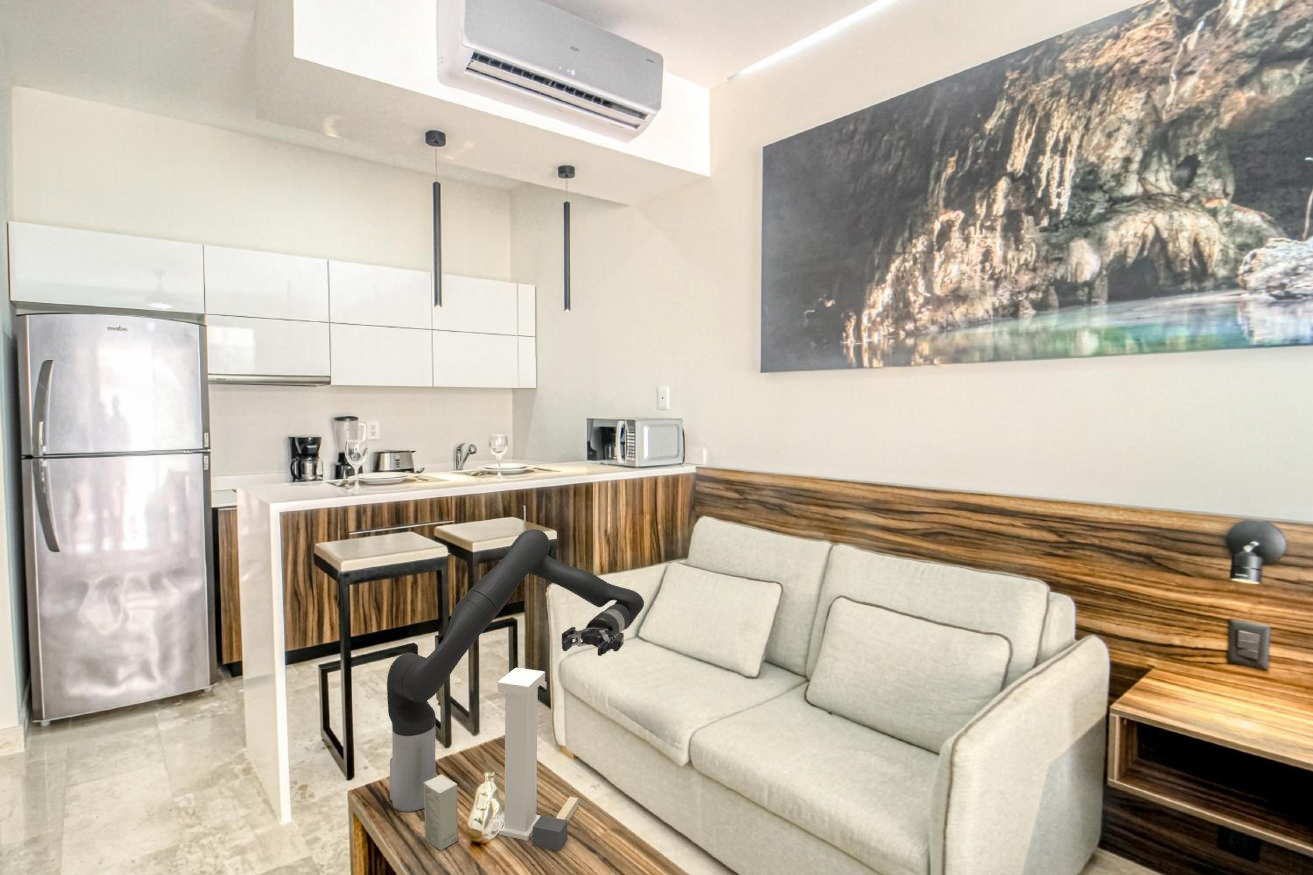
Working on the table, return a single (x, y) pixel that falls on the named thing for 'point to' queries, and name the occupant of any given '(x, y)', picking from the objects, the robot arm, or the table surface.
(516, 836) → the pale stand
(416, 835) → the table surface
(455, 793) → the skincare box
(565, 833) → the rubber mallet
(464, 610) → the robot arm
